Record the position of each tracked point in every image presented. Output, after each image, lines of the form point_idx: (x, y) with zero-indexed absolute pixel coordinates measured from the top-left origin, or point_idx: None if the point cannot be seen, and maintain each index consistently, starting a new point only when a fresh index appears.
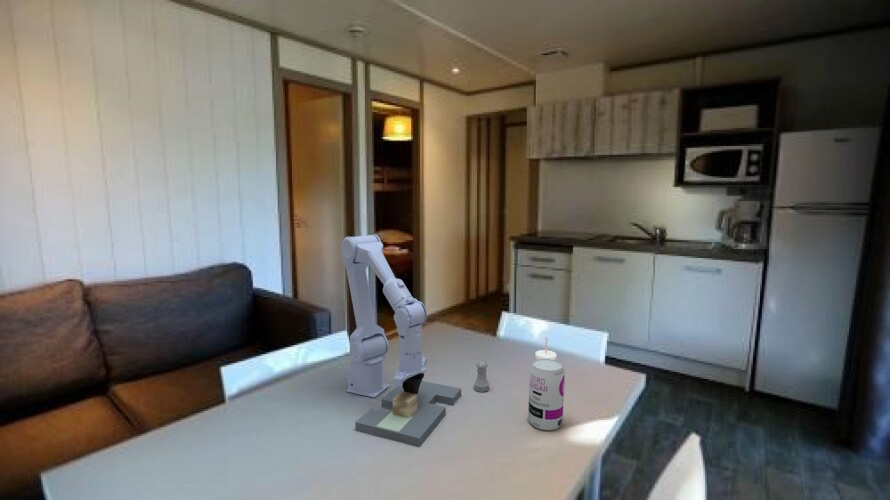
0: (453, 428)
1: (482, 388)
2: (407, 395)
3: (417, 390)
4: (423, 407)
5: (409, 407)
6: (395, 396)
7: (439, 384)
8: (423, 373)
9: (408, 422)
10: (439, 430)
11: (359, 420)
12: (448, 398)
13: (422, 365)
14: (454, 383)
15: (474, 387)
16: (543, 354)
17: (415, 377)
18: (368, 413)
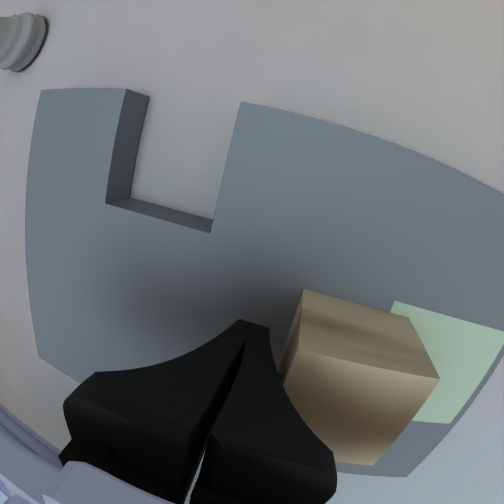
0: (391, 57)
1: (35, 26)
2: (324, 411)
3: (225, 355)
4: (273, 254)
5: (422, 353)
6: (338, 461)
7: (26, 209)
8: (83, 407)
9: (448, 311)
10: (425, 129)
11: (398, 472)
12: (123, 119)
13: (19, 495)
14: (3, 158)
15: (24, 64)
16: None
17: (216, 483)
18: (350, 467)
